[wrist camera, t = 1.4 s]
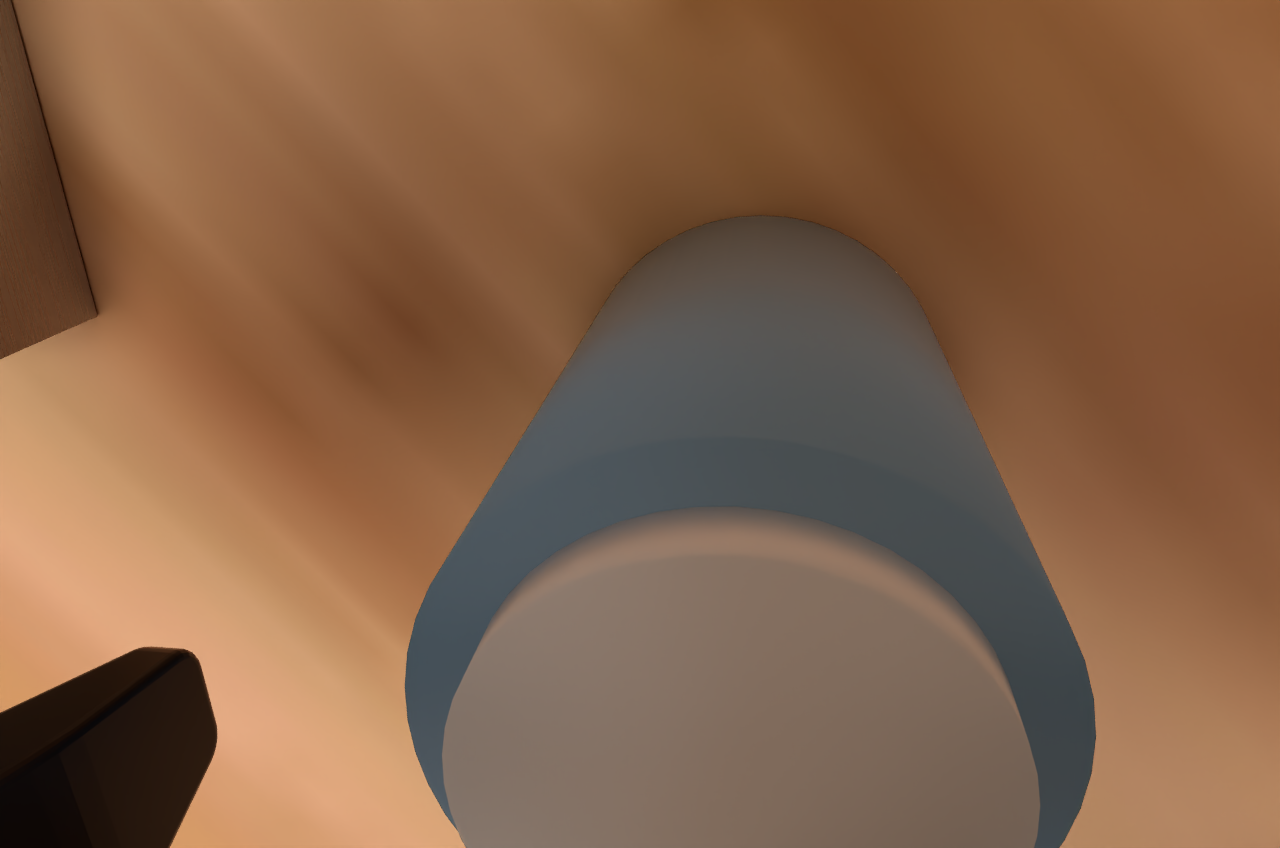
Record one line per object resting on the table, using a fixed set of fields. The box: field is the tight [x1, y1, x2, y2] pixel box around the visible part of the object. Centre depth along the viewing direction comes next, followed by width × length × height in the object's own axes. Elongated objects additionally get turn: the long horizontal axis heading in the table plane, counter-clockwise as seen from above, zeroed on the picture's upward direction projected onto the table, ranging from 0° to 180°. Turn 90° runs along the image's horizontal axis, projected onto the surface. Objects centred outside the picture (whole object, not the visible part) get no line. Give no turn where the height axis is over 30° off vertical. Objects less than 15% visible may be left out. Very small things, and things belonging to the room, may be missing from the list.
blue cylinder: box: [405, 215, 1096, 848], centre depth 10 cm, size 5×5×8 cm
